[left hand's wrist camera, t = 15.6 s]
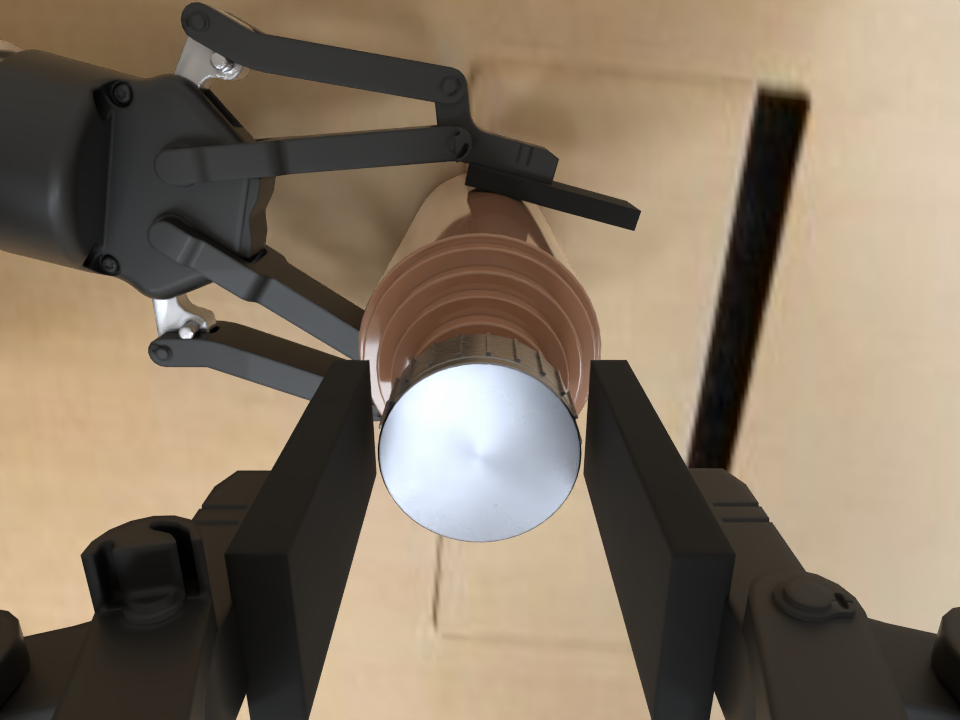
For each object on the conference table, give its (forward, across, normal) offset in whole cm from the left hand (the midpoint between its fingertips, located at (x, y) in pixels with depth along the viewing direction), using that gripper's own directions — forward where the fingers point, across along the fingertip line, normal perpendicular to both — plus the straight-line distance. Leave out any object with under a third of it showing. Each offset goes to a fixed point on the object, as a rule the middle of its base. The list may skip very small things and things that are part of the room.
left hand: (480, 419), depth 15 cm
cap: (-1, 0, 0) cm, 1 cm away
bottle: (+20, 0, 0) cm, 20 cm away
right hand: (+14, -5, +1) cm, 14 cm away
